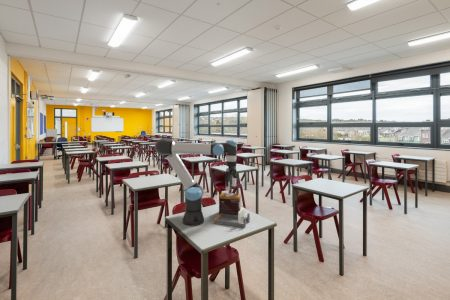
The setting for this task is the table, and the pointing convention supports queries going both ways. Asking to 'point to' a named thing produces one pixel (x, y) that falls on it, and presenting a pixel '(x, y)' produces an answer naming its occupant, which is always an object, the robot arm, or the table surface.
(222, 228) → the table surface
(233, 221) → the grey tray
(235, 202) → the supplement box
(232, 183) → the robot arm
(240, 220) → the pusher
